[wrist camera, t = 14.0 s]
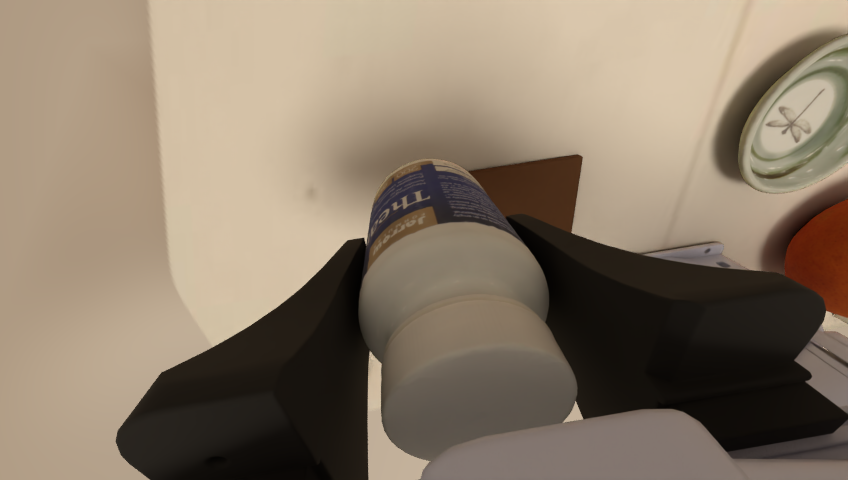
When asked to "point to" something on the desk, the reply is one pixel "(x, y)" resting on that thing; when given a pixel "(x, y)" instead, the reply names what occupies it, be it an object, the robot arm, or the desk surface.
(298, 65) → the desk surface
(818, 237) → the fruit
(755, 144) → the saucer
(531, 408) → the pill bottle
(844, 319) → the small box
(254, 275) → the desk surface
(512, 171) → the walnut mat
